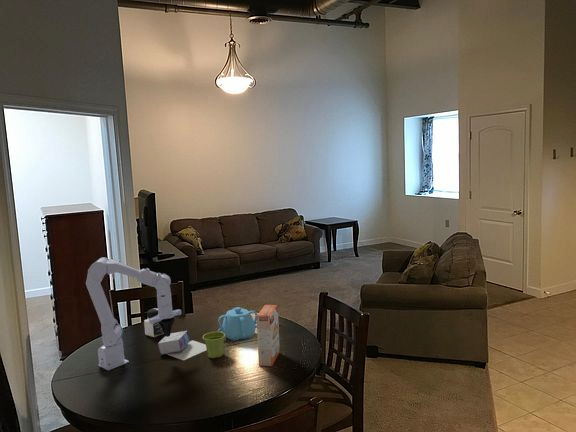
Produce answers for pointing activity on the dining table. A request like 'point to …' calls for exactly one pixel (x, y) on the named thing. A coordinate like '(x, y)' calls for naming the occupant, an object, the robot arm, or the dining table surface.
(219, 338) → the plant pot
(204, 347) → the mat
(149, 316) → the medicine bottle
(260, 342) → the cracker box
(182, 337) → the ink cartridge box
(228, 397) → the dining table surface
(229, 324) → the light blue teapot
